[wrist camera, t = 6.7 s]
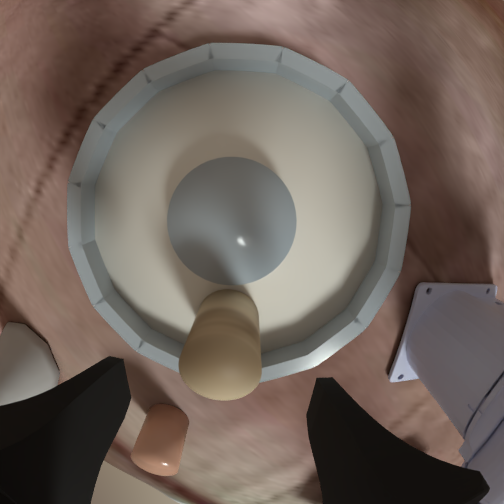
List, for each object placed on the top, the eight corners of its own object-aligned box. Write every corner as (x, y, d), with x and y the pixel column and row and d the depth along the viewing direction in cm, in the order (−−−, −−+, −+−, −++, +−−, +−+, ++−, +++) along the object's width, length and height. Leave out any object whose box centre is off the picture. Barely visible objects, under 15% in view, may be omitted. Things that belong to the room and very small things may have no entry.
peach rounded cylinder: (187, 407, 18) (175, 456, 13) (190, 433, 19) (180, 479, 14) (145, 400, 18) (126, 445, 13) (151, 426, 19) (136, 469, 14)
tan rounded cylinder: (256, 344, 16) (257, 402, 11) (198, 339, 16) (180, 395, 11) (261, 291, 15) (266, 339, 10) (198, 286, 15) (176, 331, 10)
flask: (2, 308, 17) (-68, 357, 7) (56, 338, 17) (-18, 410, 7) (15, 368, 18) (-37, 421, 9) (66, 398, 19) (18, 468, 9)
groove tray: (393, 89, 13) (413, 77, 11) (357, 360, 17) (369, 381, 15) (105, 72, 13) (86, 59, 10) (101, 339, 17) (85, 357, 14)
